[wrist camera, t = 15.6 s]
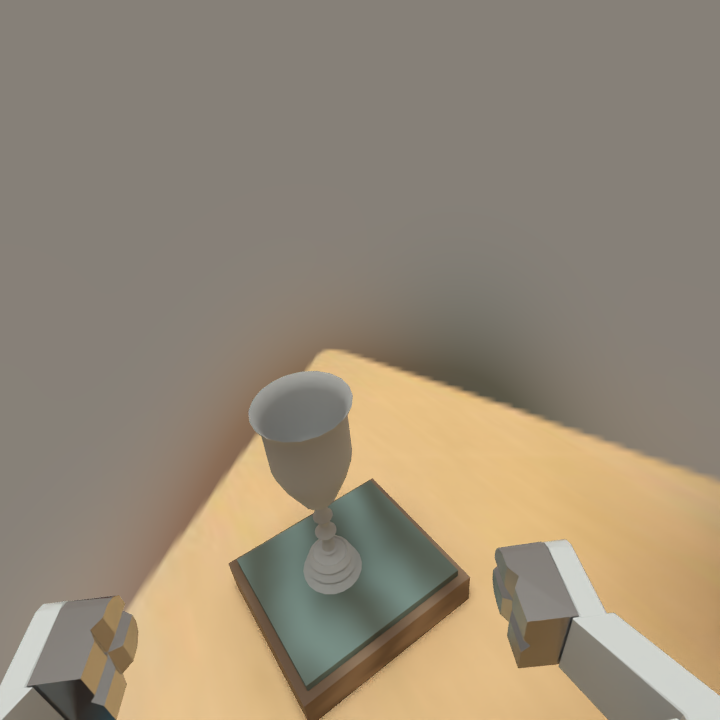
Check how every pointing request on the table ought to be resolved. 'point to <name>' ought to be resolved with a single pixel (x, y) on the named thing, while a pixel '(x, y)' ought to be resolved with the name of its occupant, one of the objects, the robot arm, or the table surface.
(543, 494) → the table surface
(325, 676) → the plinth
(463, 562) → the table surface
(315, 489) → the chalice
